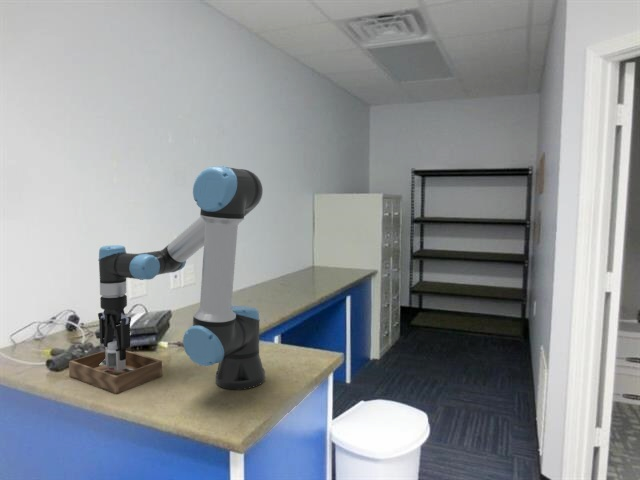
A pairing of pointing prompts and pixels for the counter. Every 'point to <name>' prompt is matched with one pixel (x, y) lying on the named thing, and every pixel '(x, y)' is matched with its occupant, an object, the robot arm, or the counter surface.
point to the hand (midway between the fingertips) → (115, 367)
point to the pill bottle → (111, 356)
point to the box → (115, 381)
